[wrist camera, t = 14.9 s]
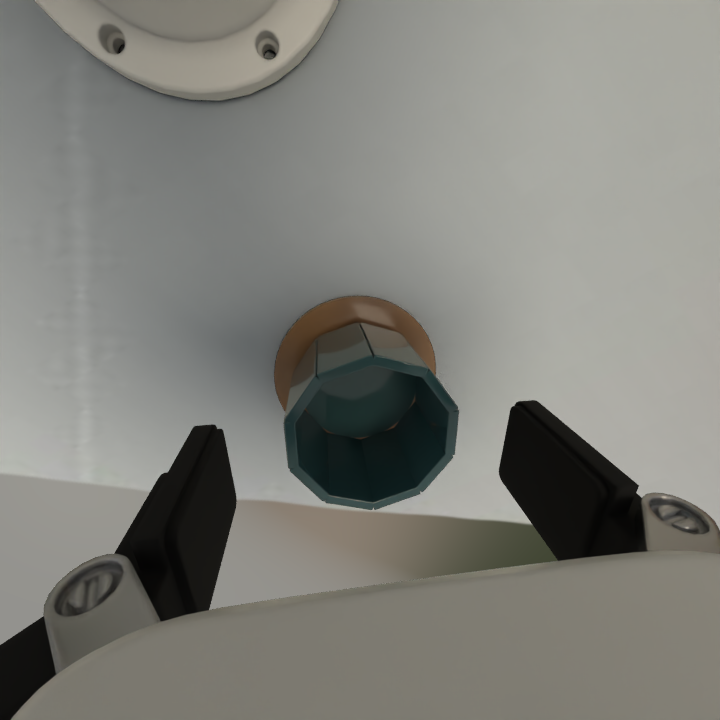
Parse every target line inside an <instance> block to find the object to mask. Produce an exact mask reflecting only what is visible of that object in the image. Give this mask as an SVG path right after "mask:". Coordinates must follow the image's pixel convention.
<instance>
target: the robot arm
mask: <svg viewBox="0 0 720 720" xmlns="http://www.w3.org/2000/svg"><path fill="white" fill-rule="evenodd" d="M34 1H35V2H36V3H37V4H38V5H39V6H40V7H41V8H42V9H43V10H44V11H45V12H46V13H47V14H48V15H49V16H50V17H51V18H52V19H53V21H54V22H55V23H56V24H57V25H58V26H59V27H60V28H61V29H62V30H63V31H64V32H65V33H66V34H68V35H69V36H70V37H71V38H73V39H74V40H75V41H76V42H77V43H79V44H80V45H81V46H82V47H84V48H85V49H86V50H87V51H88V52H90V53H91V54H92V55H93V56H95V57H96V58H98V59H99V60H101V61H102V62H104V63H105V64H107V65H108V66H110V67H111V68H113V69H114V70H116V71H117V72H119V73H120V74H122V75H123V76H125V77H126V78H128V79H130V80H132V81H135V82H137V83H139V84H141V85H144V86H146V87H148V88H150V89H152V90H155V91H157V92H159V93H164V94H168V95H172V96H176V97H181V98H185V99H189V100H220V101H221V100H226V99H231V98H235V97H240V96H245V95H250V94H252V93H254V92H256V91H258V90H260V89H262V88H264V87H267V86H269V85H271V84H273V83H275V82H277V81H278V80H279V79H280V78H282V77H283V76H284V75H285V74H287V73H288V72H289V71H291V70H292V69H293V68H294V67H296V66H297V65H298V64H299V63H300V62H301V61H302V60H303V58H304V57H305V56H306V55H307V54H308V52H309V51H310V50H311V49H312V47H313V46H314V45H315V44H316V43H317V41H318V40H319V39H320V37H321V35H322V33H323V32H324V30H325V28H326V26H327V24H328V22H329V20H330V18H331V17H332V15H333V13H334V11H335V9H336V7H337V4H338V1H339V0H34ZM122 44H125V48H124V49H123V51H122V52H121V53H119V47H120V46H121V45H122ZM269 49H271V50H273V51H274V52H275V53H276V57H275V58H274V59H270V60H267V59H265V58H264V53H265V52H266V50H269ZM499 475H500V478H501V480H502V482H503V483H504V485H505V486H506V488H507V489H508V490H509V492H510V493H511V495H512V496H513V498H514V499H515V500H516V502H517V503H518V505H519V506H520V507H521V509H522V510H523V512H524V513H525V514H526V516H527V517H528V519H529V520H530V522H531V523H532V524H533V526H534V527H535V529H536V530H537V531H538V533H539V534H540V535H541V537H542V538H543V540H544V541H545V542H546V544H547V546H548V547H549V548H550V549H551V551H552V552H553V554H554V555H555V557H556V558H557V560H558V561H554V562H547V563H539V564H530V565H523V566H515V567H507V568H500V569H491V570H484V571H476V572H469V573H461V574H454V575H446V576H438V577H431V578H423V579H416V580H409V581H401V582H394V583H386V584H379V585H372V586H365V587H357V588H350V589H343V590H336V591H329V592H321V593H314V594H307V595H300V596H293V597H286V598H279V599H273V600H267V601H260V602H254V603H248V604H241V605H235V606H228V607H222V608H217V609H212V610H209V608H210V604H211V600H212V596H213V592H214V588H215V585H216V581H217V577H218V573H219V570H220V566H221V562H222V558H223V554H224V550H225V547H226V543H227V539H228V535H229V531H230V528H231V524H232V520H233V516H234V513H235V509H236V493H235V488H234V483H233V477H232V472H231V467H230V462H229V457H228V452H227V447H226V442H225V437H224V432H223V430H222V429H217V427H216V425H202V426H194V427H193V429H192V431H191V432H190V434H189V436H188V438H187V440H186V441H185V443H184V445H183V447H182V448H181V450H180V452H179V454H178V456H177V457H176V459H175V461H174V463H173V464H172V466H171V468H170V470H169V472H168V473H163V474H162V475H161V476H160V477H159V478H158V480H157V482H156V483H155V485H154V487H153V488H152V490H151V492H150V494H149V496H148V497H147V499H146V500H145V502H144V504H143V506H142V507H141V509H140V511H139V512H138V514H137V516H136V518H135V519H134V521H133V523H132V524H131V526H130V528H129V529H128V531H127V533H126V535H125V536H124V538H123V540H122V542H121V543H120V545H119V547H118V548H117V550H116V552H115V553H114V554H106V555H102V556H99V557H95V558H93V559H91V560H89V561H87V562H84V563H82V564H81V565H79V566H78V567H77V568H75V569H73V570H72V571H70V572H69V573H68V574H67V575H66V576H65V577H63V578H62V579H61V580H60V581H59V582H58V583H57V584H56V586H55V587H54V588H53V590H52V591H51V592H50V593H49V595H48V597H47V600H46V602H45V604H44V616H43V617H42V618H40V619H39V620H37V621H36V622H34V623H33V624H31V625H30V626H28V627H27V628H25V629H24V630H23V631H21V632H19V633H18V634H16V635H15V636H13V637H12V638H10V639H9V640H7V641H6V642H4V643H3V644H1V645H0V720H720V530H719V528H718V526H717V525H716V523H715V521H714V520H713V519H712V518H711V517H710V516H709V515H708V514H707V513H706V512H704V511H703V510H701V509H700V508H698V507H697V506H695V505H693V504H691V503H690V502H688V501H686V500H683V499H681V498H678V497H676V496H673V495H668V494H664V493H649V494H646V495H645V496H643V497H642V498H641V497H640V496H639V495H638V494H637V493H636V491H637V489H638V487H639V485H637V484H636V483H635V482H634V481H633V480H631V479H630V478H629V477H628V476H627V475H625V474H624V473H623V472H622V471H621V470H619V469H618V468H617V467H616V466H615V465H613V464H612V463H611V462H610V461H609V460H607V459H606V458H605V457H604V456H603V455H601V454H600V453H599V452H598V451H597V450H595V449H594V448H593V447H592V446H591V445H589V444H588V443H587V442H586V441H585V440H583V439H582V438H581V437H580V436H579V435H577V434H576V433H575V432H574V431H573V430H571V429H570V428H569V427H568V426H567V425H565V424H564V423H563V422H562V421H561V420H559V419H558V418H557V417H556V416H555V415H553V414H552V413H551V412H550V411H549V410H547V409H546V408H545V407H544V406H543V405H541V404H540V403H539V402H537V401H535V400H532V401H519V402H517V403H516V404H515V406H513V407H512V408H511V410H510V415H509V420H508V425H507V431H506V436H505V441H504V446H503V452H502V457H501V462H500V467H499Z"/></svg>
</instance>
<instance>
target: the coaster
mask: <svg viewBox="0 0 720 720" xmlns="http://www.w3.org/2000/svg"><path fill="white" fill-rule="evenodd" d="M357 322H358V323H359V324H360V322H362V323H366V324H370V325H373V326H377V327H380V328H384V329H388V330H391V331H395V332H399V333H400V334H401V335H403V336H404V337H405V339H406V340H407V341H408V342H409V344H410V345H411V346H412V347H413V348H414V350H415V351H416V352H417V353H418V355H419V356H420V357H421V358H422V360H423V361H424V362H425V363H426V365H427V366H428V367H429V368H430V369H431V371H432V372H433V374H434V375H435V373H436V363H435V356H434V352H433V348H432V345H431V342H430V340H429V338H428V336H427V334H426V333H425V331H424V329H423V328H422V327H421V325H420V324H419V323H418V322H417V321H416V320H415V319H414V318H413V317H412V316H411V315H410V314H409V313H407V312H406V311H405V310H403V309H402V308H400V307H399V306H397V305H395V304H393V303H391V302H388V301H386V300H382V299H379V298H375V297H369V296H346V297H340V298H336V299H332V300H330V301H327V302H324V303H322V304H320V305H318V306H316V307H314V308H312V309H311V310H309V311H308V312H307V313H305V314H304V315H303V316H302V317H301V318H299V319H298V320H297V321H296V322H295V323H294V325H293V326H292V327H291V328H290V330H289V331H288V332H287V334H286V336H285V337H284V339H283V341H282V343H281V346H280V348H279V350H278V354H277V358H276V362H275V370H274V379H275V387H276V392H277V395H278V398H279V401H280V403H281V405H282V407H283V409H284V411H285V412H286V407H287V401H288V396H289V391H290V385H291V380H292V375H293V371H294V369H295V368H296V366H297V365H298V363H299V362H300V361H301V359H302V358H303V356H304V355H305V353H306V352H307V350H308V349H309V347H310V346H311V344H312V343H313V341H314V340H315V339H318V336H321V335H324V334H326V333H329V332H332V331H335V330H337V329H340V328H343V327H346V326H348V325H351V324H354V323H357ZM414 402H415V397H414V400H413V402H412V404H413V403H414ZM411 406H412V405H411ZM411 406H410V407H411ZM305 410H306V409H305ZM306 411H307V410H306ZM397 423H398V422H397ZM397 423H396V424H397ZM396 424H395V425H394V426H392V427H391V428H394V427H395V426H396ZM391 428H389V429H391ZM323 429H324V428H323ZM389 429H388V430H389ZM324 430H325V429H324ZM325 431H326V432H327V433H331V432H329V431H327V430H325ZM332 434H333V433H332ZM363 438H366V437H362V438H356V439H363Z"/></svg>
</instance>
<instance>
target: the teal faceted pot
mask: <svg viewBox="0 0 720 720" xmlns="http://www.w3.org/2000/svg"><path fill="white" fill-rule="evenodd" d="M414 397H415V402H414V403H413V404H412V402H413V400H414ZM411 405H412V406H411ZM410 406H411V407H410ZM305 409H306V410H307V411H306V410H305ZM458 415H459V410H458V406H457V405H456V404H455V402H454V401H453V399H452V398H451V397H450V395H449V394H448V393H447V391H446V390H445V389H444V387H443V386H442V384H441V383H440V382H439V380H438V379H437V378H436V376H435V375H434V374H433V372H432V371H431V369H430V368H429V367H428V366H427V365H426V363H425V362H424V361H423V360H422V358H421V357H420V356H419V355H418V353H417V352H416V351H415V350H414V348H413V347H412V346H411V345H410V344H409V342H408V341H407V340H406V339H405V337H404V336H403V335H401V334H400V333H399V332H395V331H391V330H388V329H384V328H380V327H377V326H373V325H370V324H366V323H362V322H360V324H359V323H358V322H357V323H354V324H351V325H348V326H346V327H343V328H340V329H337V330H335V331H332V332H329V333H326V334H324V335H321V336H318V339H315V340H314V341H313V343H312V344H311V346H310V347H309V349H308V350H307V352H306V353H305V355H304V356H303V358H302V359H301V361H300V362H299V363H298V365H297V366H296V368H295V369H294V371H293V375H292V380H291V385H290V391H289V396H288V401H287V407H286V412H285V417H284V423H283V424H284V433H285V442H286V452H287V461H288V468H289V469H290V472H291V473H293V474H294V475H295V476H296V477H297V478H298V479H299V480H300V481H301V482H302V483H303V484H304V485H306V486H307V487H308V488H309V489H310V490H311V491H312V492H313V493H314V494H315V495H316V496H318V497H319V498H320V499H321V500H322V501H325V502H326V503H331V504H337V505H343V506H350V507H356V508H362V509H368V510H372V509H373V507H374V509H375V510H376V509H379V508H382V507H384V506H387V505H390V504H393V503H396V502H399V501H401V500H404V499H407V498H410V497H413V496H416V495H418V494H420V491H421V492H423V491H424V490H425V489H426V488H427V487H428V486H429V485H430V483H431V482H432V481H433V480H434V479H435V478H436V477H437V475H438V474H439V473H440V472H441V471H442V470H443V469H444V467H445V466H446V465H447V464H448V463H449V462H450V461H451V459H452V458H453V456H452V455H454V454H455V446H456V436H457V425H458ZM397 422H398V423H397ZM396 423H397V424H396ZM395 424H396V426H395V427H394V428H391V427H392V426H394V425H395ZM323 428H324V429H325V430H327V431H329V432H331V433H327V432H326V431H325V430H324V429H323ZM389 428H391V429H389ZM388 429H389V430H388ZM332 433H333V434H332ZM362 437H366V438H363V439H356V438H362Z"/></svg>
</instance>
